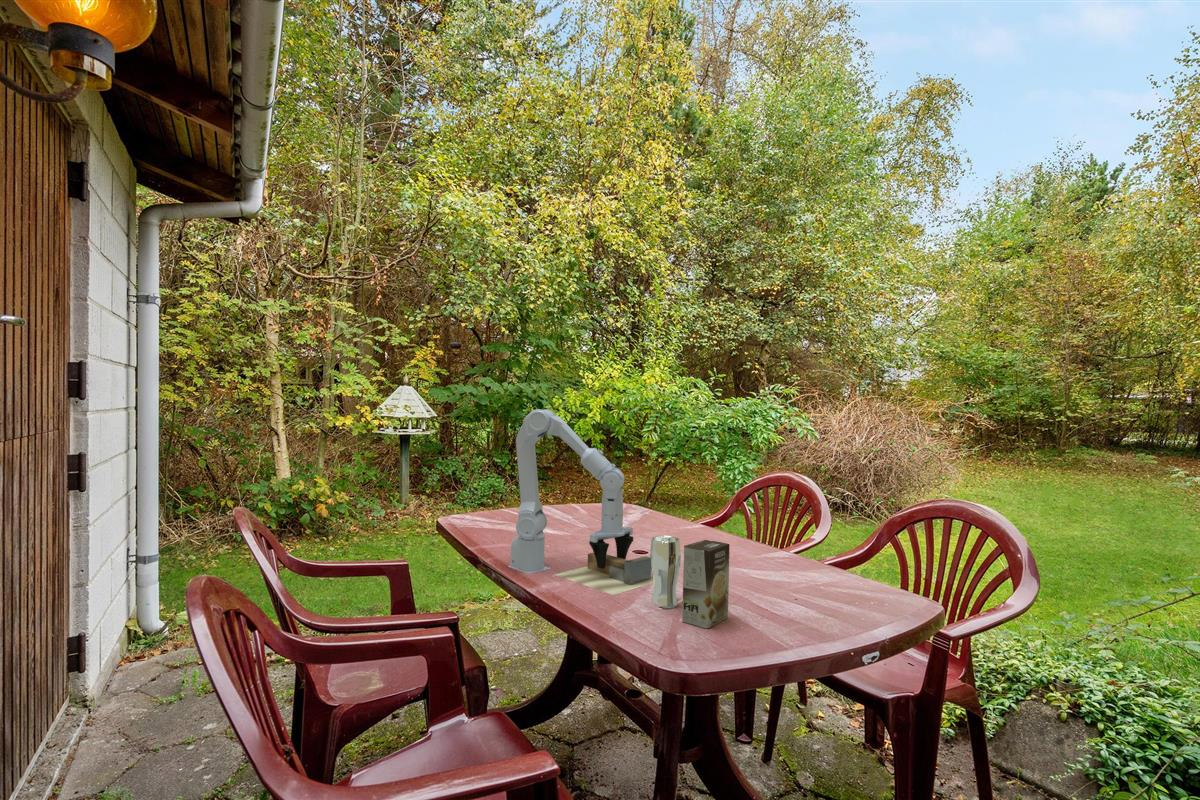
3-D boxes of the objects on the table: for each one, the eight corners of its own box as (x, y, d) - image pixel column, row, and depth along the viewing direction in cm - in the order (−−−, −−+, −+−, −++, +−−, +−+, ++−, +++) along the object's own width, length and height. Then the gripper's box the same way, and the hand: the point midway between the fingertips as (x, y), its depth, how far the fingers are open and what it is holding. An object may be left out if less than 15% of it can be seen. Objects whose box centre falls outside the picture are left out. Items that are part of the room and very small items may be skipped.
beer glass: (644, 606, 132) (645, 539, 132) (656, 597, 138) (657, 534, 138) (673, 611, 129) (674, 543, 129) (684, 602, 135) (685, 537, 135)
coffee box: (708, 629, 119) (709, 551, 119) (681, 622, 123) (682, 545, 123) (729, 617, 126) (730, 543, 126) (702, 610, 130) (704, 538, 130)
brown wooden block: (587, 568, 160) (587, 553, 160) (596, 566, 162) (596, 551, 162) (624, 579, 150) (625, 564, 150) (634, 577, 152) (634, 561, 152)
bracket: (607, 578, 151) (607, 556, 151) (628, 572, 157) (628, 551, 157) (630, 585, 145) (630, 563, 145) (650, 578, 151) (651, 557, 151)
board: (553, 576, 153) (553, 574, 153) (601, 564, 166) (602, 562, 166) (613, 597, 138) (613, 595, 138) (662, 582, 150) (662, 579, 150)
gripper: (603, 520, 148) (602, 573, 148) (641, 513, 158) (640, 563, 158) (584, 515, 153) (583, 567, 153) (622, 509, 163) (621, 558, 163)
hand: (611, 565), depth 156 cm, fingers open, 7 cm apart
